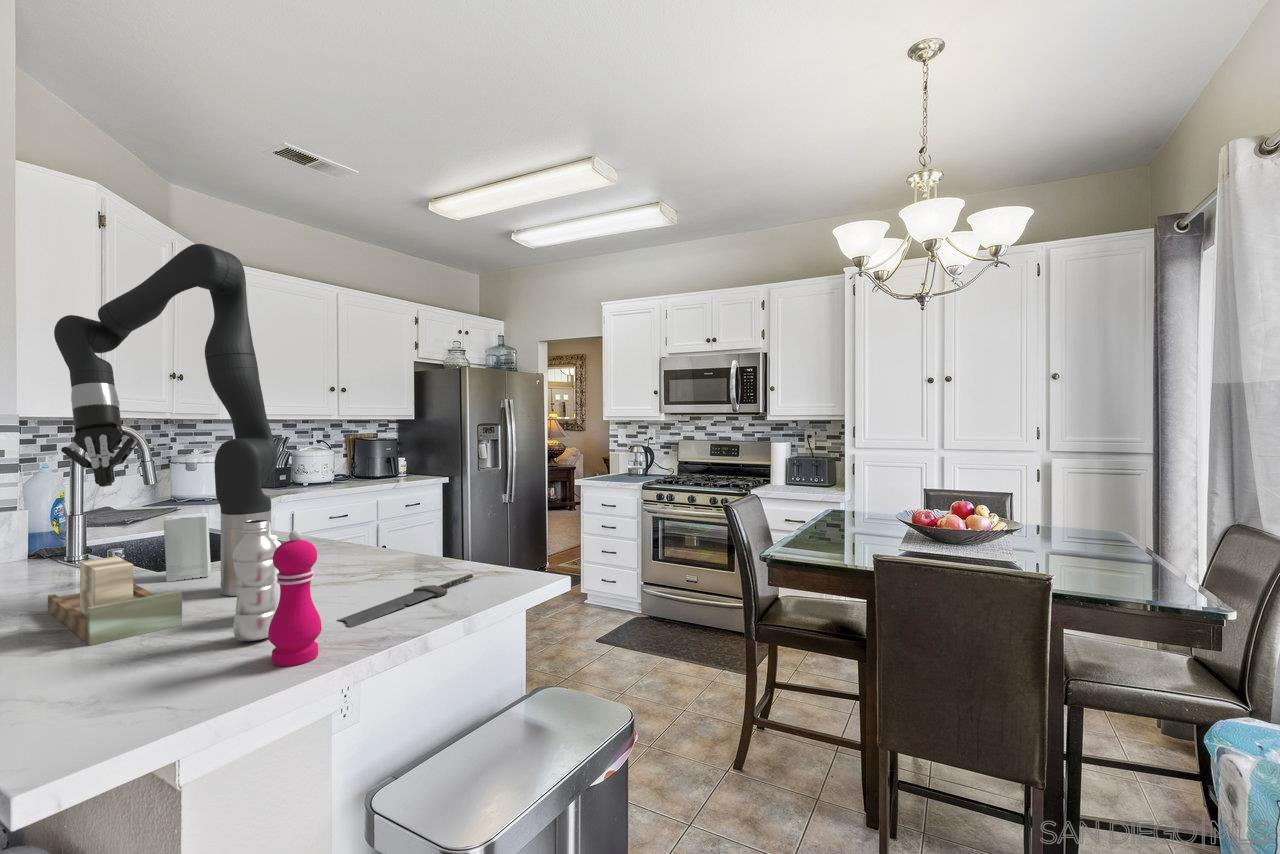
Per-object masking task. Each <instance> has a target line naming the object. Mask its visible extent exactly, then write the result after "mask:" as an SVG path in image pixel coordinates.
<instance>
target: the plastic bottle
mask: <svg viewBox="0 0 1280 854" xmlns="http://www.w3.org/2000/svg"><path fill="white" fill-rule="evenodd" d="M268 531H269V521H268V520H250V521H245V522H243V530H242V533H243V534H244V537H243V538H242V540H241V541H240V542H239V543H238V545H237V546H236V548H235V549H234V552H233V561H234V562H233V563H234V569H235V574H236V584H237V596H236V606H235V614H234V618H233V622H232V630H233V631H232V632H233V635H234V637H235V638H236V640H238V641H240V642H253V641H260V640H263V639H267V638H268V632H269V626H270V623H271V620H272V618H273V616H274V614H275V612H276V610H277V608H276V601H275V591H274V581H275V569H276V568H275V566H274V564H273V555H274V552H275V550H276V549H277V546H276V544H275V543H274V541H273V540H272V539H271V538H270V537H269V536H268V534H267V532H268Z"/></svg>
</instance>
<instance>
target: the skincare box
mask: <svg viewBox="0 0 1280 854" xmlns="http://www.w3.org/2000/svg"><path fill="white" fill-rule="evenodd" d="M209 524H210V523H209V512H198V513H190V514H189V513H187V514H177V515H176V514H175V515H167V516H166V517H165V518H164V519H163V535H164V536H163V537H164V555H165V573H166V582H167V583H168V581H170V582H175V581H176V582H177V580H178V581H184V579H185V580H192V578H193V579H201V578H200V577H202V578H208V577H209V576H210V574H211V572H212V571H211V570H212V566H211V565H212V564H211V549H210V548H211V547H210V525H209Z"/></svg>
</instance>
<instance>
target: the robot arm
mask: <svg viewBox="0 0 1280 854" xmlns="http://www.w3.org/2000/svg"><path fill="white" fill-rule="evenodd" d="M246 280H247V279H246V272H245V268H244V266H243V264H242V262H241V260H240V259H238V257H237V256H235V255H234V254H232V253H230V252H229V251H226V250H223V249H221V248H218V247H215V246H212V245H209V244H205V243H194V244H191V245H189V246H187V247H185V248H184V249H182V250H181V251H179V253H177V254H176V255H175V256H173V257H172V258H171V259H170V260H169V261H167V262H166V263H165V264H164V265H163V266H161V267H160V268H159V269H157V270H156V271H155V272H154V273H152V275H150V276H149V277H148V278H147V279H145V280H144V281H143V282H141V283H140V284H138V285H137V286H135V287H133V288H132V289H130V290H129V291H126V292H125V293H123V294H121V295H119V296H117V297H116V298H113V299H111V300H110V301H108V302H106V303H104V304H103V305H101V307H99V308H98V310H97V317H98V320H95V319H91V318H87V317H84V316H81V315H80V316H79V315H75V314H74V315H73V314H70V315H65V316H63V317H61V318H60V319H58V321H56V324H55V326H54V331H53V335H54V340H55V343H56V346H57V348H58V350H59V352H60V354H61V356H62V358H63V360H64V363H65V364H66V367H67V368H68V370H69V371H68V372H69V379H70V388H71V393H70V394H71V396H70V400H71V401H70V402H71V408H72V409H71V410H72V418H73V426H74V431H75V434H74V436H73V438H72V439H73V440H72V441H73V442H71V443H70V444H68V446H62V447H61V448H60V450H61V452H62V453H63V454H64V455H66V456H67V457H68V458H70V459H71V460H73V462H75V463H76V464H78V465H79V466H81V467H82V468H84V469H92V470H93V476H94V483H95V484H96V485H98V486H99V487H101V488H103V487H104V488H106V487H110V486H113V484H114V482H115V470H114V468H115V467H116V466H118V465H122V464H124V463H125V462H126V460H127V459H128V458H129V457H130V454H132V452H133V451H134V450H135V448H136V447H137V446H138V444H139V440H138V439H136V438H132V437H129V436H128V435H126V432H125V431H124V430H123V428H122V418H121V411H120V400H119V397H118V392H117V390H116V384H115V378H114V369H113V367H112V364H111V363H110V362H109V361H107V360H105V359H104V358H101V357H99V356H98V355H97V354H105V353H108V352H112V351H114V350H115V349H116V348H118V347H119V346H120V345H121V344H122V343H123V342H124V341H125V339H126V338H128V336H129V335H130V334H131V333H132V332H133V331H135V330H137V329H139V328H141V327H143V326H145V325H147V324H148V323H150V322H152V321H154V320H155V319H157V318H158V317H159V316H160V315H161V314H162V312H164V310H165V308H166V307H167V305H168V303H169V302H170V301H171V300H172V299H173V298H174V297H175V296H177V295H179V294H180V293H183V292H185V291H188V290H192V289H193V288H201V289H205V290H208V291H209V294H210V297H211V301H212V307H213V308H212V309H213V323H212V326H211V328H210V331H209V334H208V337H207V339H206V342H205V345H204V346H205V347H204V359H205V364H206V370H207V375H208V380H209V383H210V385H211V387H212V389H213V391H214V393H215V394H216V396H217V398H218V399H219V400H220V402H221V404H222V405H223V407H224V408H225V409H226V411H227V414H228V415H229V417H230V420H231V423H232V427H233V432H234V438H233V439H228V440H226V441H224V442H223V443H222V444H220V446H219V447H218V449H217V451H216V454H215V457H214V480H215V481H214V484H215V497H216V499H217V503H218V504H219V507H220V595H223V596H230V597H231V596H233V597H234V596H235V597H237V584H236V574H235V569H234V563H233V562H234V561H233V552H234V549H235V548H236V546H237V545H238V543H239V542H240V541H241V540H242V538H243V537H244V534H243V533H242V530H243V522H245V521H250V520H268V521H269V522H270V528H271V529H272V500H271V497H270V496H268V495H266V494H265V493H264V492H263V490H262V480H261V479H265V478H266V477H268V476H269V475H271V474H272V473H273V472H274V471H275V469H276V468H277V464H278V458H279V457H278V450H277V446H276V443H275V439H274V437H273V433H272V431H271V427H270V423H269V419H268V416H267V412H266V407H265V401H264V397H263V389H262V385H261V381H260V373H259V367H258V361H257V355H256V351H255V347H254V343H253V336H252V330H251V324H250V318H249V312H248V311H249V310H248V298H247V282H246ZM120 445H121V447H120V448H119V449H118V447H119V446H120ZM81 449H82V450H83V451H84V452H85V453H87V455H88V458H89V459H90V460H88V459H87V458H86V457H85V456H83V455H82V454H81ZM117 449H118V451H117V452H116V450H117ZM267 534H268V532H267Z"/></svg>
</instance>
